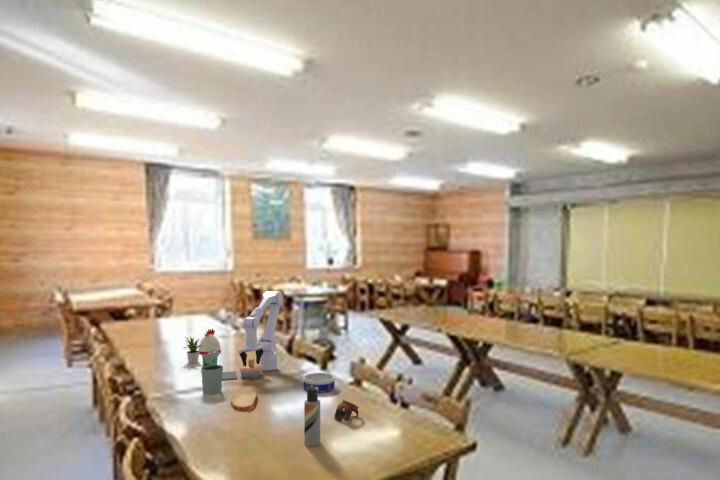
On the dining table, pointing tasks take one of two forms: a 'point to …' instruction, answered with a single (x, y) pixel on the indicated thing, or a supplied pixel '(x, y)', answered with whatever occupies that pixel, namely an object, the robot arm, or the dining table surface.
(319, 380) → the dog bowl
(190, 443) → the dining table surface
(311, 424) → the lotion bottle
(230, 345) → the dining table surface
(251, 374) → the bowl
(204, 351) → the cream domed piece
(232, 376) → the mat
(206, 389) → the embossed green pot
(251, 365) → the lid
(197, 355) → the house plant
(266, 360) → the robot arm
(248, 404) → the bread slice
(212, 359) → the food container
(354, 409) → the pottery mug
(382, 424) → the dining table surface
